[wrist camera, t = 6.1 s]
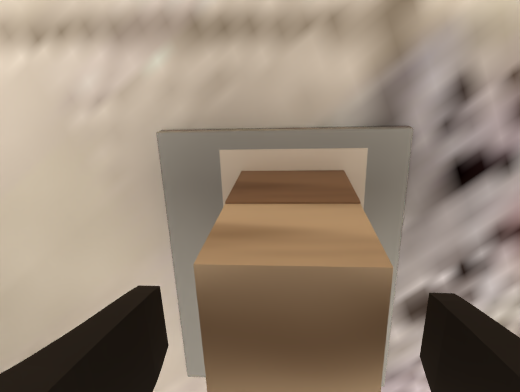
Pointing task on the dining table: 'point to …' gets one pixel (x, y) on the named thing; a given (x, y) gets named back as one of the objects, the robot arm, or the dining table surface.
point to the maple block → (293, 299)
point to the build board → (273, 159)
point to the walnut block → (293, 188)
